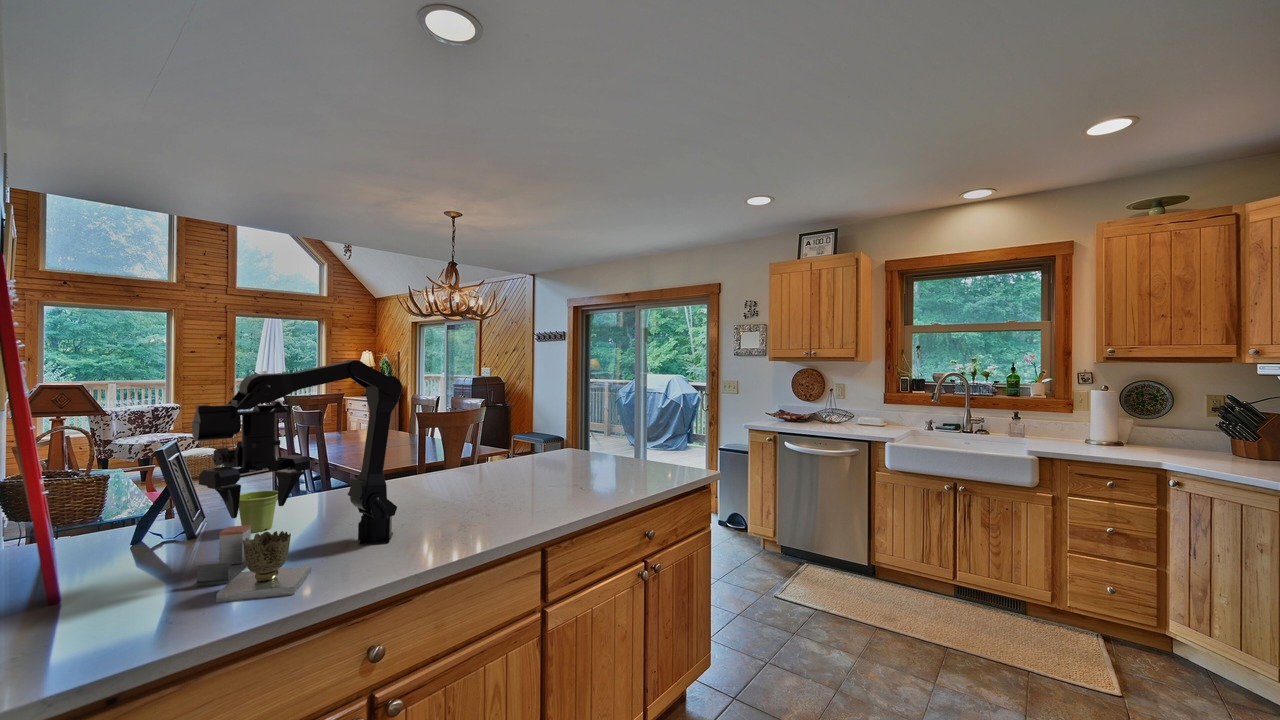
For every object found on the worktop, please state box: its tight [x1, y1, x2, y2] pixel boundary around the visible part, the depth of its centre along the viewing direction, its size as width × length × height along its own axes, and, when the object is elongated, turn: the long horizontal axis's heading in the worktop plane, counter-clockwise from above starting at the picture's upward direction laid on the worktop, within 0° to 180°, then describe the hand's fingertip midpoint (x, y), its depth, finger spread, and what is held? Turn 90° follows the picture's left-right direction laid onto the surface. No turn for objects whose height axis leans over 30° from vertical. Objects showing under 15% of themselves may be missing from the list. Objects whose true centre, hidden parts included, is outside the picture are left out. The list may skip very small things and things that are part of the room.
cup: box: [243, 530, 292, 581], centre depth 100 cm, size 8×7×8 cm
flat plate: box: [216, 565, 312, 603], centre depth 99 cm, size 12×10×2 cm
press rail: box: [196, 561, 248, 587], centre depth 106 cm, size 5×12×4 cm, turn 17°
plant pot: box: [238, 490, 278, 534], centre depth 132 cm, size 9×9×9 cm
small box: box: [218, 525, 252, 564], centre depth 109 cm, size 4×4×7 cm
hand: (258, 511), depth 107 cm, fingers open, 9 cm apart
